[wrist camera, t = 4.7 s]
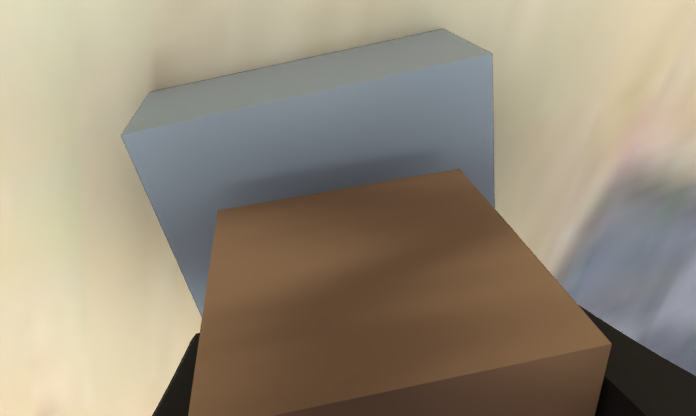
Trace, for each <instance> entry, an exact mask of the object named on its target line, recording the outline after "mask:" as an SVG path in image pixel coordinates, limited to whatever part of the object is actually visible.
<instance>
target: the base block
mask: <svg viewBox="0 0 696 416" xmlns="http://www.w3.org/2000/svg"><path fill="white" fill-rule="evenodd" d="M121 137H122V139H123V142H124V144H125V146H126V148H127V151H128V153H129V155H130V157H131V159H132V162H133V164H134V166H135V168H136V171H137V173H138V175H139V177H140V180H141V182H142V184H143V186H144V189H145V191H146V193H147V195H148V198H149V200H150V202H151V204H152V207H153V209H154V211H155V213H156V216H157V218H158V220H159V222H160V225H161V227H162V229H163V231H164V234H165V236H166V238H167V240H168V242H169V245H170V247H171V249H172V251H173V254H174V256H175V258H176V260H177V263H178V265H179V267H180V269H181V272H182V274H183V276H184V278H185V281H186V283H187V285H188V287H189V290H190V292H191V294H192V296H193V299H194V301H195V303H196V305H197V308H198V310H199V312H200V314H201V317H202V316H203V309H204V302H205V295H206V288H207V281H208V274H209V267H210V260H211V253H212V246H213V240H214V233H215V226H216V219H217V212H218V210H221V209H227V208H233V207H239V206H245V205H251V204H256V203H262V202H268V201H274V200H280V199H285V198H291V197H297V196H303V195H309V194H314V193H320V192H326V191H332V190H338V189H343V188H349V187H355V186H361V185H367V184H372V183H378V182H384V181H390V180H396V179H401V178H407V177H413V176H419V175H425V174H430V173H436V172H442V171H448V170H454V169H459V168H460V170H461V171H462V172H463V173H464V174H465V175H466V176H467V178H468V179H469V180H470V181H471V182H472V183H473V185H474V186H475V187H476V188H477V189H478V190H479V191H480V193H481V194H482V195H483V196H484V197H485V198H486V200H487V201H488V202H489V203H490V204H491V205H492V206H493V208H494V209H495V199H494V132H493V65H492V53H490V52H489V51H487V50H485V49H483V48H481V47H479V46H477V45H475V44H473V43H471V42H469V41H467V40H465V39H463V38H461V37H459V36H457V35H455V34H453V33H451V32H449V31H447V30H445V29H439V30H435V31H430V32H425V33H421V34H416V35H411V36H407V37H402V38H398V39H393V40H388V41H384V42H379V43H374V44H370V45H365V46H360V47H356V48H351V49H347V50H342V51H337V52H333V53H328V54H323V55H319V56H314V57H309V58H305V59H300V60H295V61H291V62H286V63H282V64H277V65H272V66H268V67H263V68H258V69H254V70H249V71H244V72H240V73H235V74H230V75H226V76H221V77H217V78H212V79H207V80H203V81H198V82H193V83H189V84H184V85H179V86H175V87H170V88H166V89H161V90H156V91H152V92H150V93H149V94H148V96H147V97H146V98H145V100H144V101H143V103H142V104H141V106H140V107H139V109H138V110H137V112H136V113H135V115H134V116H133V118H132V119H131V121H130V122H129V124H128V125H127V127H126V128H125V130H124V131H123V133H122V134H121Z"/></svg>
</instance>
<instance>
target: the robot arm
mask: <svg viewBox="0 0 696 416" xmlns="http://www.w3.org/2000/svg"><path fill="white" fill-rule="evenodd" d="M579 307H580V308H581V309H582V310H583V311H584V312H585V314H586V315H587V316H588V317H589V318H590V319H591V320H592V322H593V323H594V324H595V325H596V326H597V327H598V328H599V330H600V331H601V332H602V333H603V334H604V335H605V337H606V338H607V339H608V340H609V341H610V342H611V343H612V345H611V350H610V354H609V358H608V362H607V366H606V370H605V375H604V379H603V383H602V387H601V391H600V395H599V400H598V404H597V408H596V412H595V416H696V376H694V375H692V374H691V373H689V372H687V371H685V370H684V369H682V368H680V367H678V366H677V365H675V364H673V363H671V362H670V361H668V360H666V359H664V358H662V357H661V356H659V355H657V354H656V353H654V352H652V351H651V350H649V349H647V348H646V347H644V346H642V345H641V344H639V343H637V342H636V341H634V340H632V339H631V338H629V337H628V336H626V335H624V334H623V333H621V332H620V331H618V330H616V329H615V328H613V327H612V326H610V325H608V324H607V323H605V322H604V321H602V320H601V319H599V318H598V317H596V316H594V315H593V314H591V313H590V312H588V311H587V310H585V309H584V308H582V307H581V306H579ZM199 337H200V333H198V334H196V335H195V336H194V337H193V338H192V340H191V342H190V344H189V346H188V348H187V350H186V352H185V354H184V356H183V358H182V360H181V362H180V364H179V366H178V368H177V370H176V372H175V374H174V376H173V378H172V380H171V382H170V384H169V386H168V387H167V389H166V391H165V393H164V395H163V397H162V399H161V401H160V402H159V404H158V406H157V408H156V410H155V411H154V413H153V415H152V416H188V413H189V406H190V399H191V392H192V385H193V378H194V371H195V364H196V357H197V350H198V343H199Z"/></svg>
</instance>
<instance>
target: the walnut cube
mask: <svg viewBox="0 0 696 416" xmlns="http://www.w3.org/2000/svg"><path fill="white" fill-rule="evenodd" d="M611 345H612V343H611V342H610V341H609V340H608V339H607V338H606V337H605V335H604V334H603V333H602V332H601V331H600V330H599V328H598V327H597V326H596V325H595V324H594V323H593V322H592V320H591V319H590V318H589V317H588V316H587V315H586V314H585V312H584V311H583V310H582V309H581V308H580V307H579V305H578V304H577V303H576V302H575V301H574V300H573V299H572V297H571V296H570V295H569V294H568V293H567V292H566V290H565V289H564V288H563V287H562V286H561V285H560V284H559V282H558V281H557V280H556V279H555V278H554V277H553V276H552V274H551V273H550V272H549V271H548V270H547V269H546V267H545V266H544V265H543V264H542V263H541V262H540V261H539V259H538V258H537V257H536V256H535V255H534V254H533V252H532V251H531V250H530V249H529V248H528V247H527V246H526V244H525V243H524V242H523V241H522V240H521V239H520V238H519V236H518V235H517V234H516V233H515V232H514V231H513V229H512V228H511V227H510V226H509V225H508V224H507V223H506V221H505V220H504V219H503V218H502V217H501V216H500V214H499V213H498V212H497V211H496V210H495V209H494V208H493V206H492V205H491V204H490V203H489V202H488V201H487V200H486V198H485V197H484V196H483V195H482V194H481V193H480V191H479V190H478V189H477V188H476V187H475V186H474V185H473V183H472V182H471V181H470V180H469V179H468V178H467V176H466V175H465V174H464V173H463V172H462V171H461V170H460V168H459V169H454V170H448V171H442V172H436V173H430V174H425V175H419V176H413V177H407V178H401V179H396V180H390V181H384V182H378V183H372V184H367V185H361V186H355V187H349V188H343V189H338V190H332V191H326V192H320V193H314V194H309V195H303V196H297V197H291V198H285V199H280V200H274V201H268V202H262V203H256V204H251V205H245V206H239V207H233V208H227V209H221V210H218V212H217V219H216V226H215V233H214V240H213V246H212V253H211V260H210V267H209V274H208V281H207V288H206V295H205V302H204V309H203V316H202V323H201V330H200V337H199V343H198V350H197V357H196V364H195V371H194V378H193V385H192V392H191V399H190V406H189V413H188V416H595V412H596V408H597V404H598V400H599V395H600V391H601V387H602V383H603V379H604V375H605V370H606V366H607V362H608V358H609V354H610V350H611Z"/></svg>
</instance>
